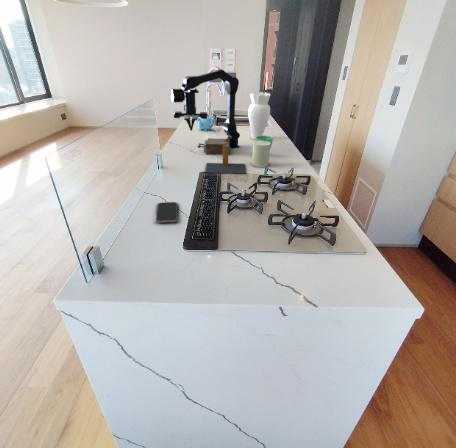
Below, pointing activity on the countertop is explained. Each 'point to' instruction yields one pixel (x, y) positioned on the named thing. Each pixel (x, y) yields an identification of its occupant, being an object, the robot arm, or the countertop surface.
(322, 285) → the countertop surface
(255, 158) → the can
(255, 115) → the vase
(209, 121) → the teapot
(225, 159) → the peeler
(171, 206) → the smartphone
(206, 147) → the drawer
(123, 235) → the countertop surface
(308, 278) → the countertop surface
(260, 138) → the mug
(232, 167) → the mat
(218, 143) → the cabinet
